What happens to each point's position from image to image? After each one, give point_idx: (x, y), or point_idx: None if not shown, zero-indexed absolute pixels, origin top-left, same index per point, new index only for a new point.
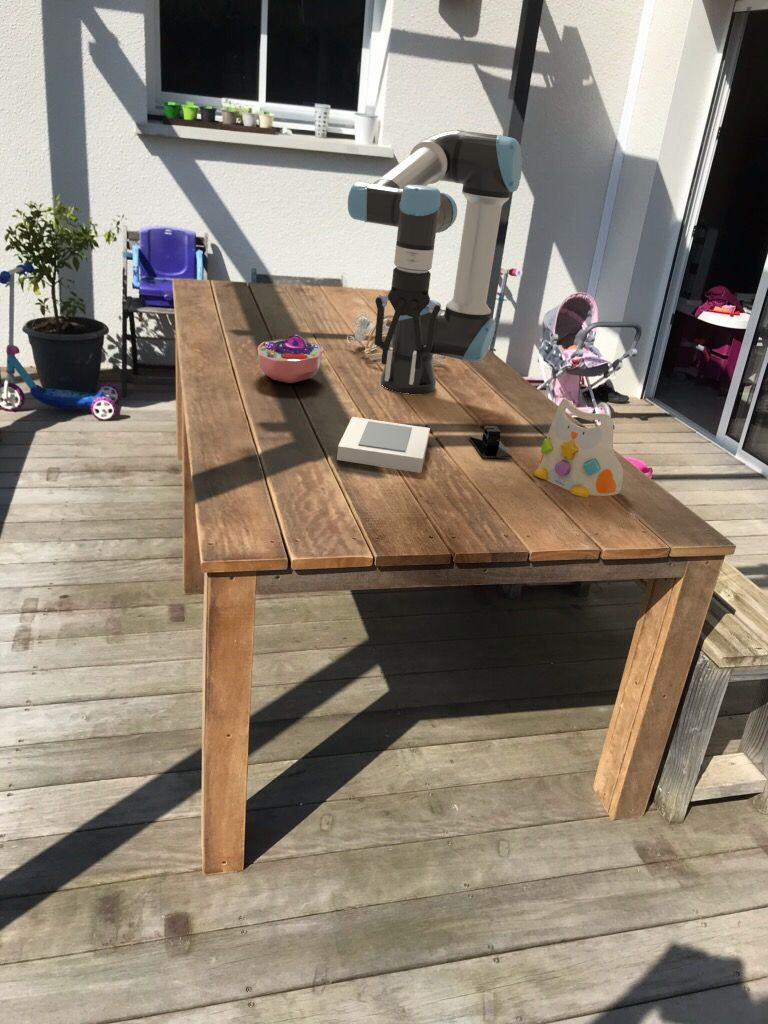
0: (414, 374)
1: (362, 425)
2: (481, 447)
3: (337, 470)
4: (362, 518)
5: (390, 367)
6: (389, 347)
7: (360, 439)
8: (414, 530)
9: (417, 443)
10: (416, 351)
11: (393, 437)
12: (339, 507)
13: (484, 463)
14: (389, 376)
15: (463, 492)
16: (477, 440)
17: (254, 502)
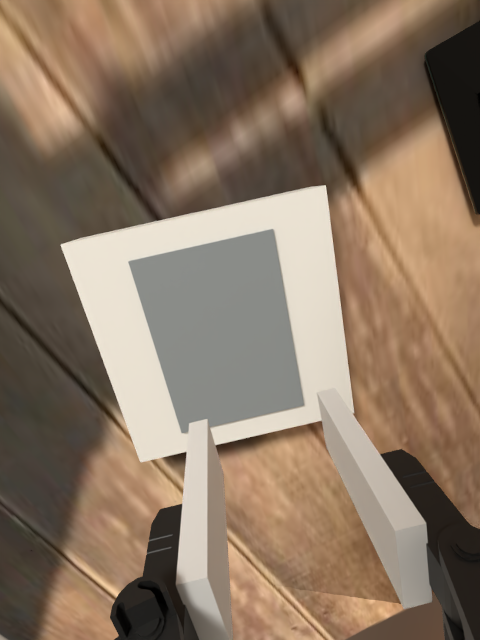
0: (348, 409)
1: (126, 296)
2: (475, 156)
3: (166, 459)
4: (285, 581)
5: (210, 468)
6: (178, 585)
7: (173, 405)
8: (372, 570)
9: (319, 332)
10: (419, 532)
11: (247, 340)
12: (236, 572)
13: (476, 230)
14: (209, 430)
15: (436, 410)
16: (460, 95)
17: (105, 624)
